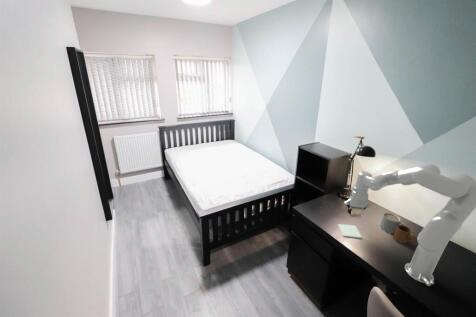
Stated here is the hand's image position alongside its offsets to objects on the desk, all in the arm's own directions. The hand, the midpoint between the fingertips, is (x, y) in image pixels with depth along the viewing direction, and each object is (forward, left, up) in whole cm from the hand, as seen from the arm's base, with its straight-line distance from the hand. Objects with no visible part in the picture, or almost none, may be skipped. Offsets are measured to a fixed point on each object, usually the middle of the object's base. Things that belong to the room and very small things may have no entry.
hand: (354, 213), depth 145 cm
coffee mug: (+7, -30, -15) cm, 34 cm away
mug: (-5, -32, -15) cm, 36 cm away
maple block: (0, 0, -1) cm, 1 cm away
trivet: (0, 0, -15) cm, 15 cm away
